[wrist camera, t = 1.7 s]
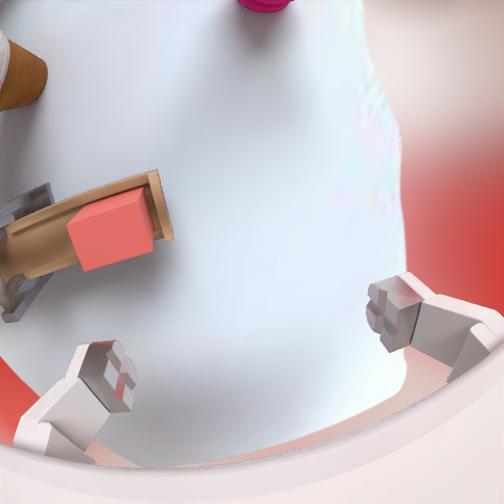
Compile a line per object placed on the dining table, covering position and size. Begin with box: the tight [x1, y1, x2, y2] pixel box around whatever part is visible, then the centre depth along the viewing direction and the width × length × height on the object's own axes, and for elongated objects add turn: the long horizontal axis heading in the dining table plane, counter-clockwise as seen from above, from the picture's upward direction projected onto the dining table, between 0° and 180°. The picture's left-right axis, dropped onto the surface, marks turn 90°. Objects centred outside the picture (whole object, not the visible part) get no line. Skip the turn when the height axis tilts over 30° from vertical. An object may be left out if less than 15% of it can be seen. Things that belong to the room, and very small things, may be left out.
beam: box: [0, 169, 174, 309], centre depth 21 cm, size 7×34×9 cm, turn 100°
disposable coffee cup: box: [0, 31, 48, 112], centre depth 14 cm, size 10×10×12 cm
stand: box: [0, 182, 55, 323], centre depth 22 cm, size 11×7×12 cm, turn 10°
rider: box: [66, 187, 154, 272], centre depth 21 cm, size 4×6×6 cm, turn 100°
